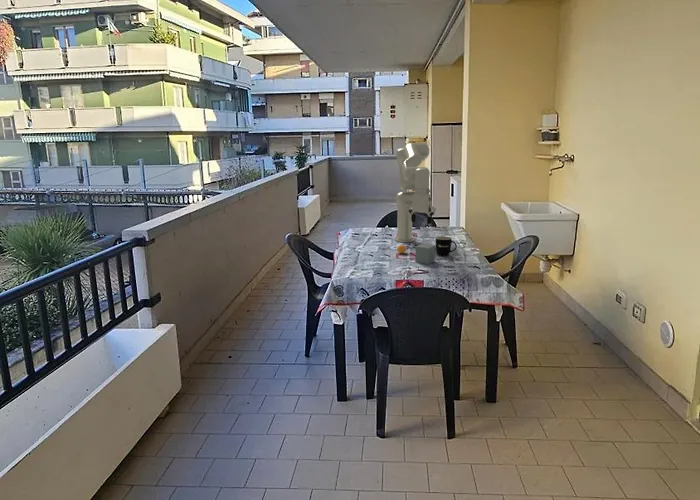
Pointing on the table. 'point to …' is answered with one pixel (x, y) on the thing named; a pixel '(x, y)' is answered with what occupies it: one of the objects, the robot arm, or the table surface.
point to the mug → (444, 245)
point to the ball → (401, 249)
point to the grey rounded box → (425, 253)
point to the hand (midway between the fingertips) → (421, 222)
